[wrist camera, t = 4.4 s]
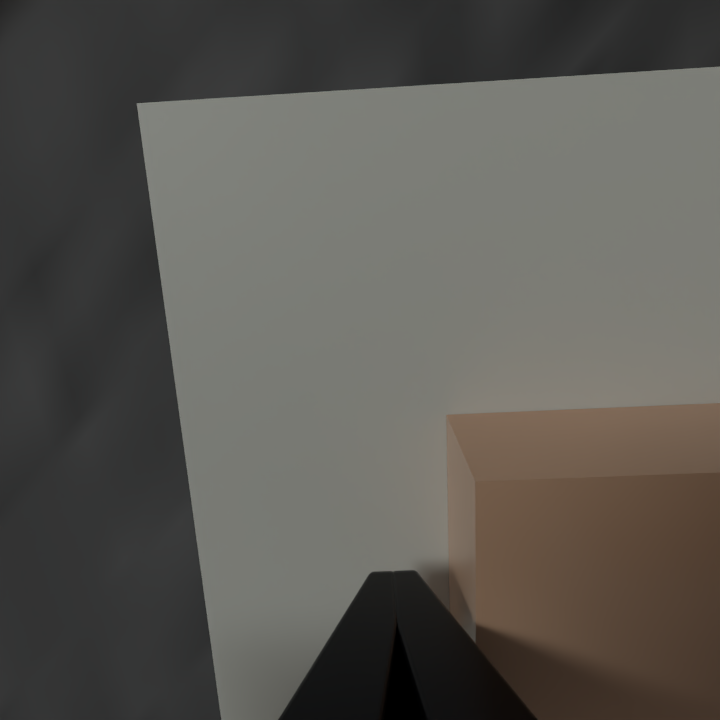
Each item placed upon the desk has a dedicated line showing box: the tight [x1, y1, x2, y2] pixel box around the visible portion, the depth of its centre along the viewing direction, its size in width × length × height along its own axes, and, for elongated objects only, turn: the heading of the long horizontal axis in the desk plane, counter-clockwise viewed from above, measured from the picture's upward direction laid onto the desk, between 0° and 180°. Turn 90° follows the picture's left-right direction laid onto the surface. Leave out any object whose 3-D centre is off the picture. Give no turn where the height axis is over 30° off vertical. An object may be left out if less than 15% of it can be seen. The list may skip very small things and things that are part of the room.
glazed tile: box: [446, 403, 720, 720], centre depth 8 cm, size 6×6×2 cm
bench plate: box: [137, 67, 720, 720], centre depth 11 cm, size 16×10×3 cm, turn 3°
